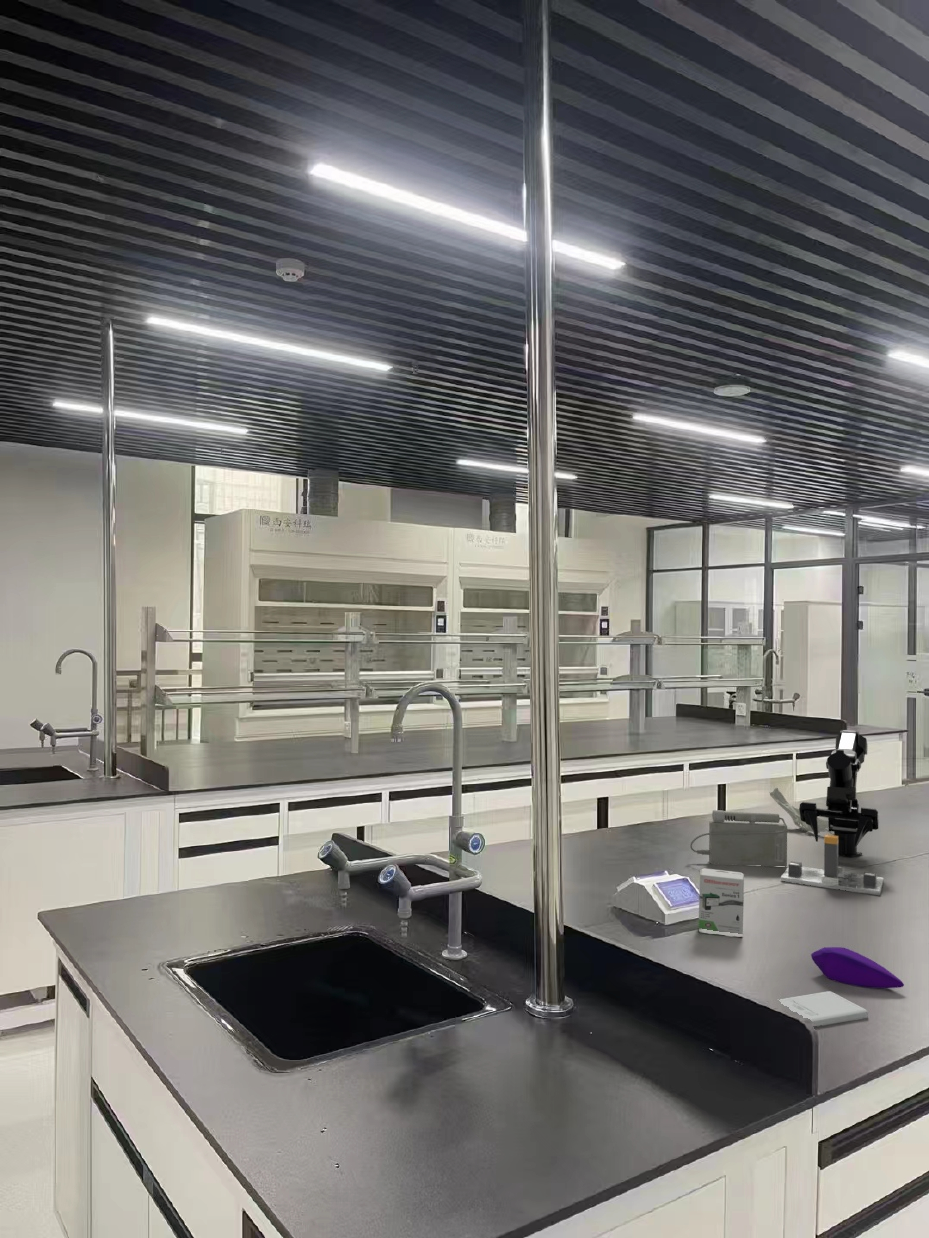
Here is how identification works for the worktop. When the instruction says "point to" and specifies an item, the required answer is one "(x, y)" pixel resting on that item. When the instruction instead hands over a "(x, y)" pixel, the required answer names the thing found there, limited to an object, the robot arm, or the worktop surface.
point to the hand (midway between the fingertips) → (835, 842)
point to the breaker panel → (834, 879)
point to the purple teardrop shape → (853, 968)
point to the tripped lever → (831, 855)
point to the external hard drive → (825, 1008)
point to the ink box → (721, 900)
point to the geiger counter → (746, 839)
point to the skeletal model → (797, 813)
